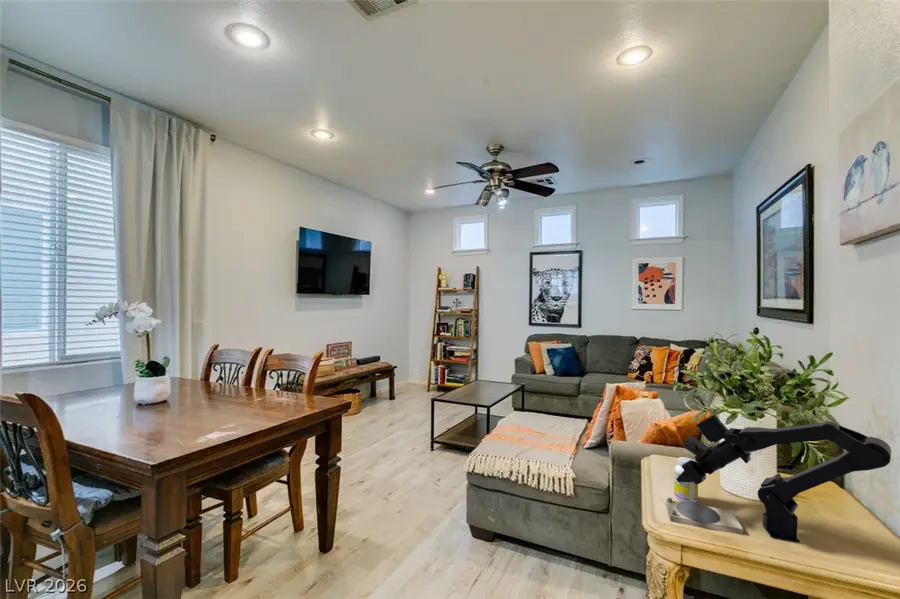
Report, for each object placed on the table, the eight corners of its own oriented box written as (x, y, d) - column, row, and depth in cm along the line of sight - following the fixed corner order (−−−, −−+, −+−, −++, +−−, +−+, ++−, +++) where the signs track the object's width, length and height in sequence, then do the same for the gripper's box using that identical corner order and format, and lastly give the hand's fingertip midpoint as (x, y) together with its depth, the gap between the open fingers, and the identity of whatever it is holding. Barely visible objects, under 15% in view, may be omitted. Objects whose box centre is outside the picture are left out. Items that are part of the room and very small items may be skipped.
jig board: (730, 514, 121) (731, 506, 121) (743, 535, 110) (743, 526, 110) (664, 503, 127) (664, 495, 127) (670, 521, 117) (670, 513, 117)
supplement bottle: (691, 494, 133) (692, 456, 132) (701, 504, 126) (702, 464, 126) (670, 493, 133) (671, 455, 133) (679, 503, 127) (680, 463, 126)
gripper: (711, 425, 132) (674, 447, 141) (689, 438, 120) (651, 461, 129) (738, 456, 126) (699, 477, 135) (719, 473, 114) (677, 495, 123)
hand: (681, 477), depth 131 cm, fingers closed on supplement bottle, 7 cm apart
